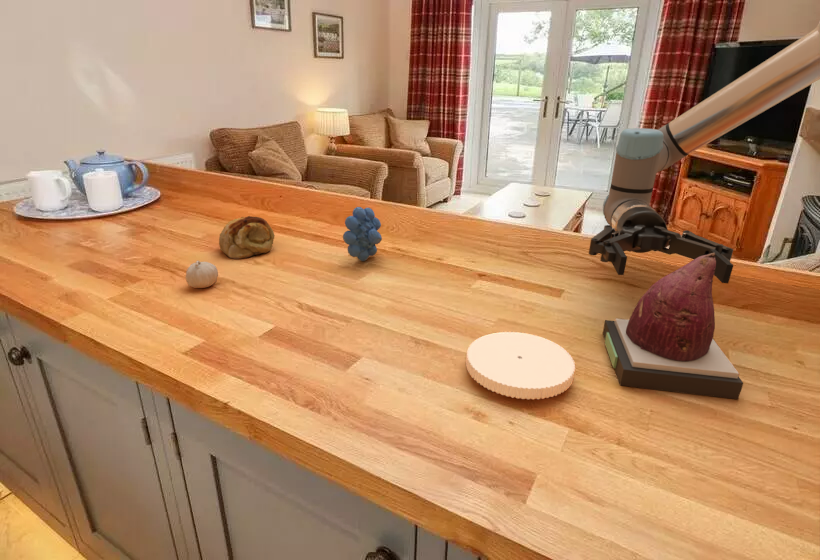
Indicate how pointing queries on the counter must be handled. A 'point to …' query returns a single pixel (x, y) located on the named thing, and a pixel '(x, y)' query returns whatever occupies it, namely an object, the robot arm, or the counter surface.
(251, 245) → the pastry
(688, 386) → the scale
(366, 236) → the grapes
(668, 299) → the vegetable
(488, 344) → the plastic lid
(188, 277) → the garlic
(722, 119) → the robot arm
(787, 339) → the counter surface
